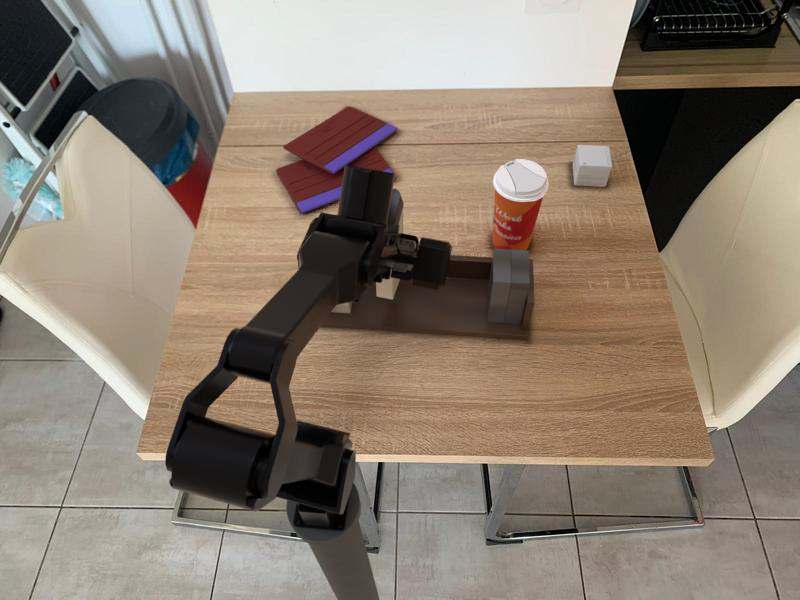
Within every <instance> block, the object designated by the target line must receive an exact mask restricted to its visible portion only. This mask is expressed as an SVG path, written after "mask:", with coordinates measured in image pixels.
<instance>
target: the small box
mask: <svg viewBox="0 0 800 600" xmlns="http://www.w3.org/2000/svg"><path fill="white" fill-rule="evenodd" d="M572 162H573V163H572V175H573V184H574V186H579V187H596V188H606V187H607V185H608V181H609V179H610V175H611V171H612V168H613V162H612V156H611V148H610V146H609V145H595V144H594V145H593V144H591V145H590V144H577V145H576V150H575V154H574V158H573V161H572Z"/></svg>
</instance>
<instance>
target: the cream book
mask: <svg viewBox="0 0 800 600" xmlns="http://www.w3.org/2000/svg"><path fill="white" fill-rule="evenodd" d="M398 233H403V234H404V208H403V209H402V213H401V217H400V221H399V231H398ZM391 271H392V270H391ZM399 281H400V279H396V278H391V274H390V279H388V280H387V279H383V280H382V282H381V283H377V282H376V292H377V297H382V298H387V299H392V300H393V298H394V295H395V292H396V290H397V287H398V284H399Z"/></svg>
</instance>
